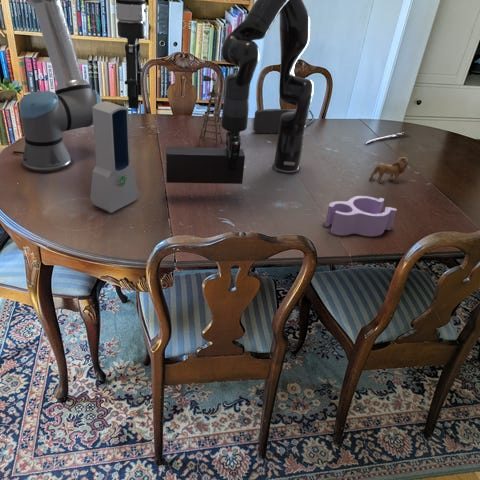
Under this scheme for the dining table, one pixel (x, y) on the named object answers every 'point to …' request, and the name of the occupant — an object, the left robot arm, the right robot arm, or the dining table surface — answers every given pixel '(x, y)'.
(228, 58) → the right robot arm
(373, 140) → the sword
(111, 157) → the electronic device
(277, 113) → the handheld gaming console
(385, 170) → the lion figurine
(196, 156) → the bar
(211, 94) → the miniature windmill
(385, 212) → the clip
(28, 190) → the dining table surface
